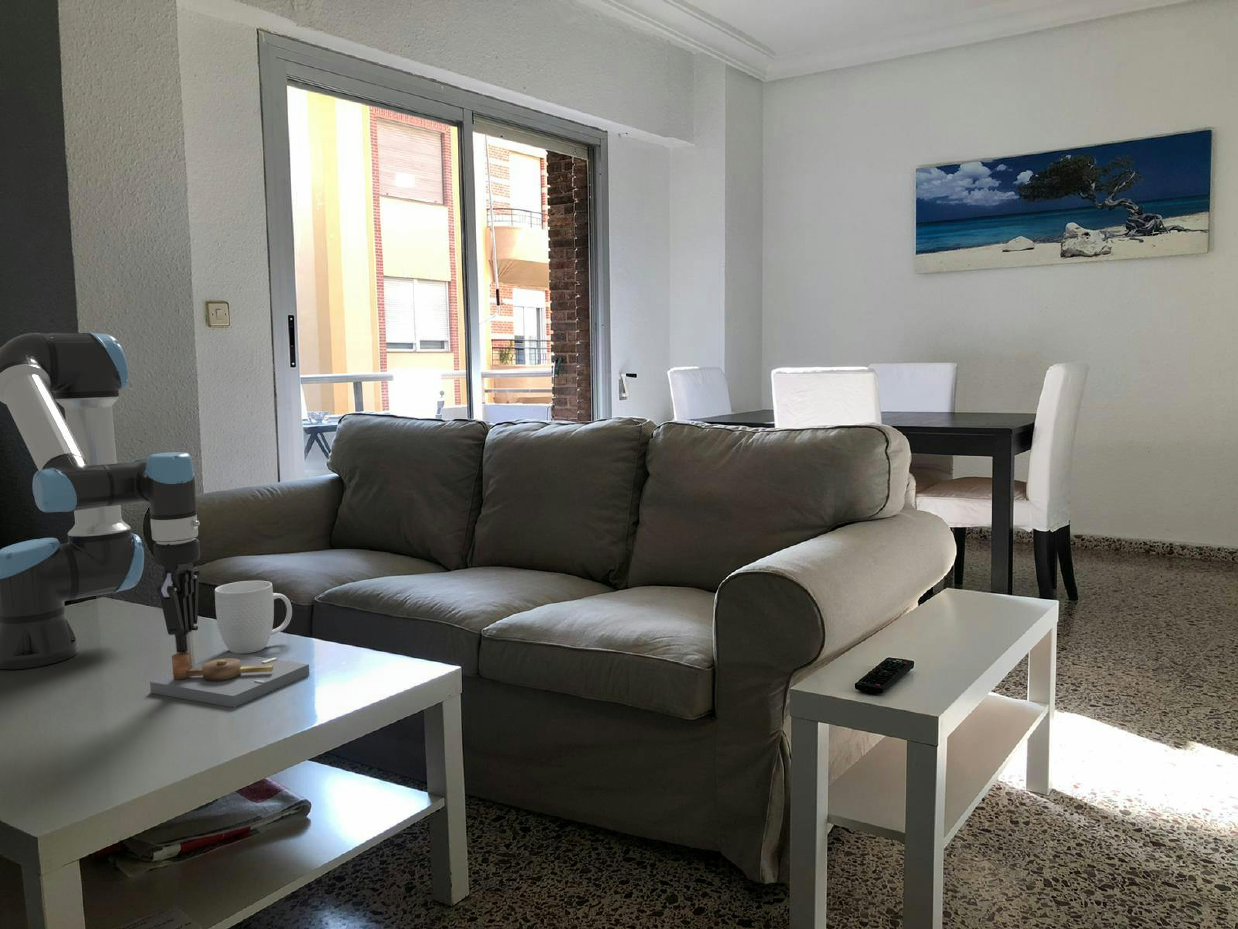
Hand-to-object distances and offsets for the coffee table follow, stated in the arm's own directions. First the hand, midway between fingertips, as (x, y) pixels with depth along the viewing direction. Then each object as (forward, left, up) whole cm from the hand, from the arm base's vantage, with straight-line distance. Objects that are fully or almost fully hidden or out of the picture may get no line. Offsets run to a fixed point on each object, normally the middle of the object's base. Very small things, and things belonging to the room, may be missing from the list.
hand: (186, 667), depth 174 cm
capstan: (+7, +2, -1) cm, 7 cm away
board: (+7, +4, -3) cm, 8 cm away
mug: (-6, +22, -4) cm, 23 cm away
